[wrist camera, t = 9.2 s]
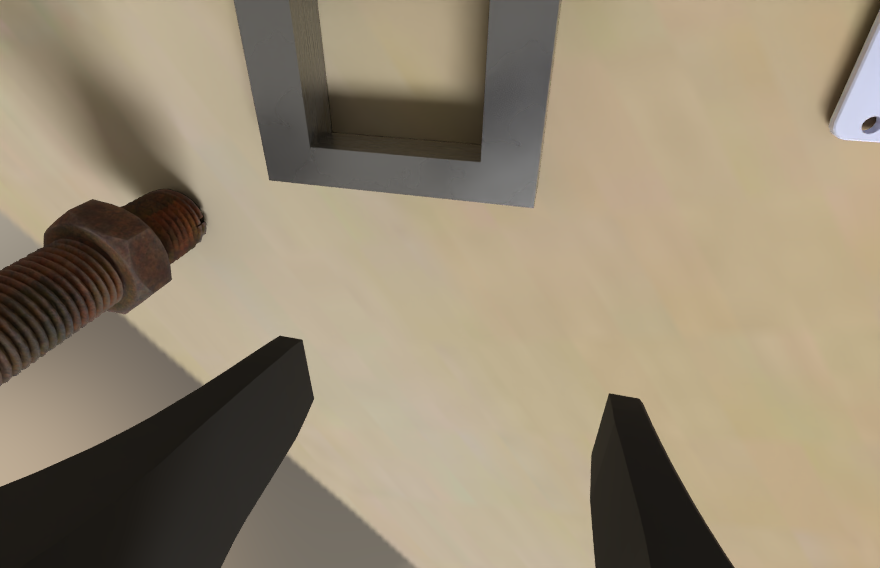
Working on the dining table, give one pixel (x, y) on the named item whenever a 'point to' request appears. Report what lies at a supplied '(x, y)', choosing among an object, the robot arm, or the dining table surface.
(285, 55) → the frame with rectangular openings
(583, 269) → the dining table surface
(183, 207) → the bolt
